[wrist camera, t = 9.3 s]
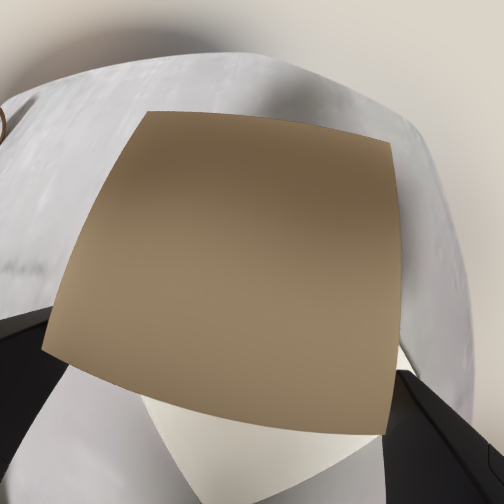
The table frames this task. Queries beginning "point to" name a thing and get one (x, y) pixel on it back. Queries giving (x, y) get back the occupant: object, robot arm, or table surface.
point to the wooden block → (241, 273)
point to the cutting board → (247, 452)
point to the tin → (2, 124)
